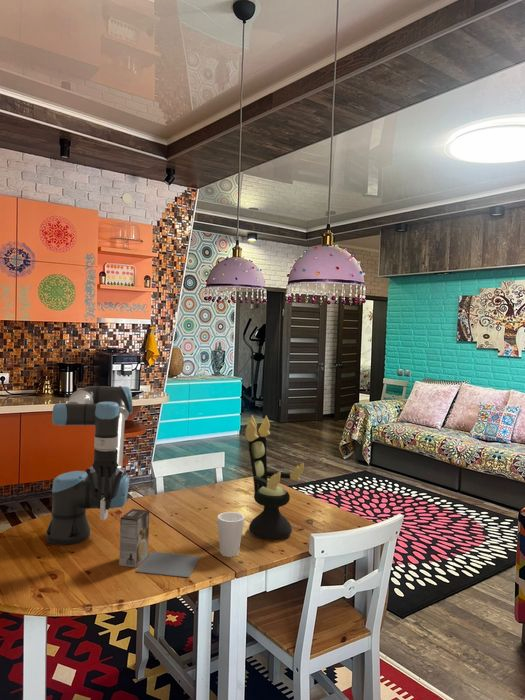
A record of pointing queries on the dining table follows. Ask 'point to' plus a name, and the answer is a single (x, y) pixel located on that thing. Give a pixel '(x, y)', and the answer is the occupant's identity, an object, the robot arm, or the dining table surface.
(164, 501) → the dining table surface
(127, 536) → the coffee box
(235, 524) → the foam cup
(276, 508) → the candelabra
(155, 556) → the mat
